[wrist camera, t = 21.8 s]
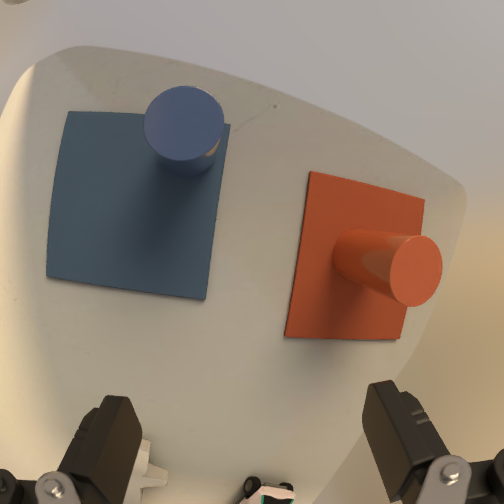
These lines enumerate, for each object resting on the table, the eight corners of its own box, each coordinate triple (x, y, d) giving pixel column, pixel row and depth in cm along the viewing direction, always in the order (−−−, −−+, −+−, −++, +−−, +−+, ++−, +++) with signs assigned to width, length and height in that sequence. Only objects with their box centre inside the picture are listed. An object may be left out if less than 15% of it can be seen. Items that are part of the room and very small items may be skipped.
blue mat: (69, 112, 24) (68, 111, 24) (230, 125, 27) (230, 124, 27) (47, 275, 26) (46, 276, 25) (205, 298, 29) (205, 299, 28)
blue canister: (166, 121, 26) (152, 82, 17) (220, 127, 27) (230, 90, 18) (156, 174, 26) (135, 156, 17) (212, 181, 27) (217, 166, 18)
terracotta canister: (337, 224, 29) (396, 230, 20) (381, 232, 30) (447, 241, 20) (328, 277, 30) (383, 305, 20) (373, 282, 31) (434, 308, 21)
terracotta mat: (309, 171, 29) (311, 170, 28) (422, 199, 31) (424, 199, 31) (284, 335, 30) (285, 337, 30) (397, 338, 33) (399, 339, 32)
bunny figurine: (175, 463, 26) (152, 535, 25) (175, 438, 31) (153, 511, 30) (87, 436, 24) (80, 515, 23) (98, 414, 29) (88, 492, 28)
